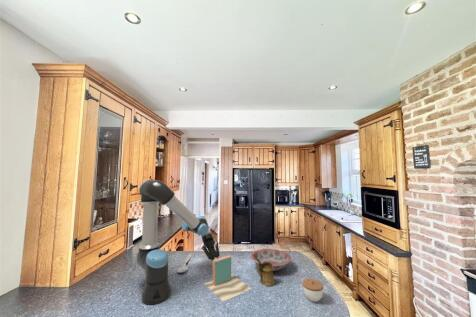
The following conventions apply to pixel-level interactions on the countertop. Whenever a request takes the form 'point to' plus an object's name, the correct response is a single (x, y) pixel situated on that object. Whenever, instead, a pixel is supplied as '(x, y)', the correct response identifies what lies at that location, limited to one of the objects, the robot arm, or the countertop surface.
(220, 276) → the ceramic tile
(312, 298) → the lidded jar
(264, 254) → the ceramic bowl
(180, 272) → the spoon
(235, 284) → the cream cloth
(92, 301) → the countertop surface
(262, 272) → the wooden mug
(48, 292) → the countertop surface
